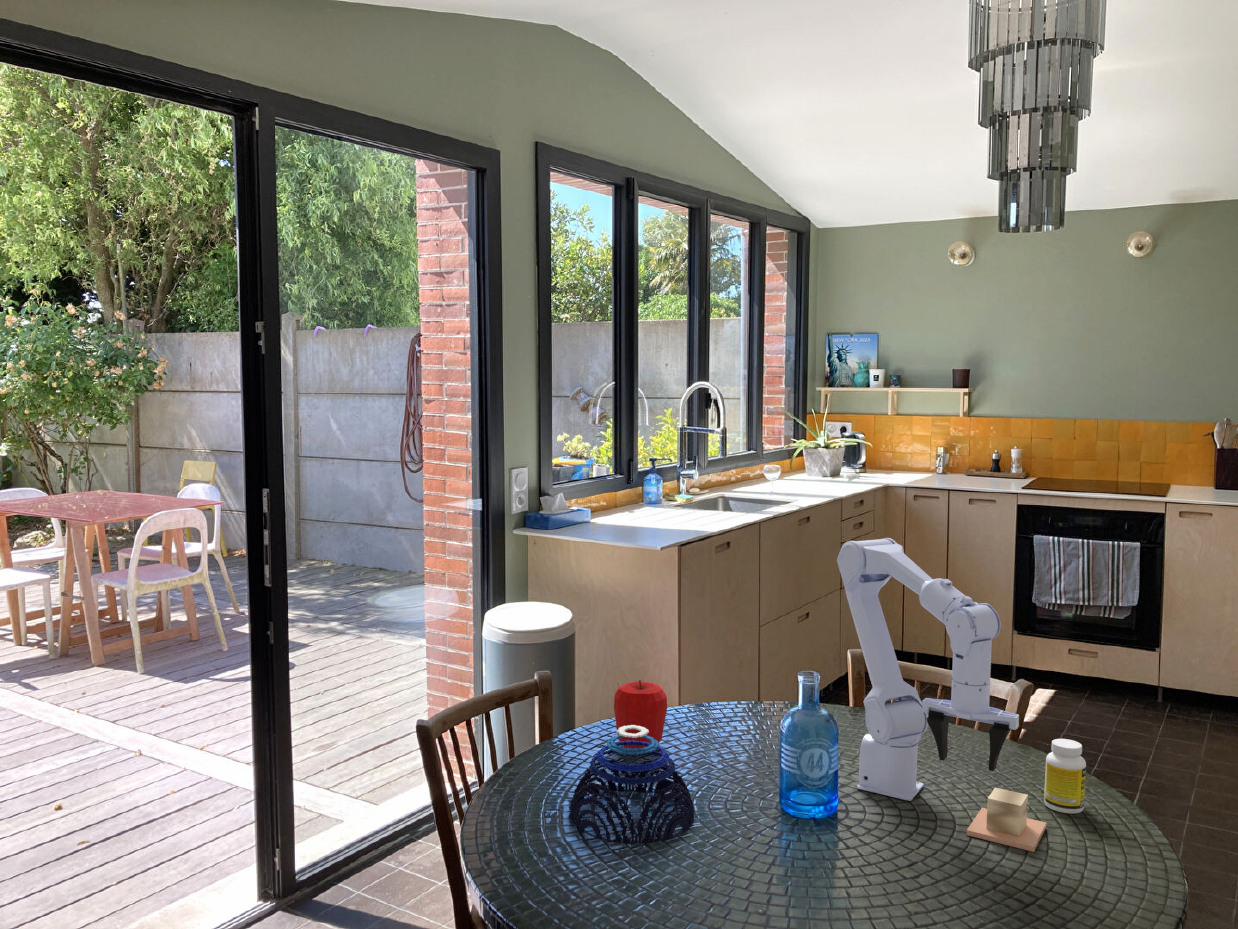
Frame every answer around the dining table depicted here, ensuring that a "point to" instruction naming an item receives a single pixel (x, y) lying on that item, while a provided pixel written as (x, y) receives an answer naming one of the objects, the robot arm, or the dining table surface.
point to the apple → (640, 710)
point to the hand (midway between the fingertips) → (967, 763)
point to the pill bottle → (1065, 777)
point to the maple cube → (1007, 811)
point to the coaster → (1025, 841)
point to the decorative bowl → (643, 768)
